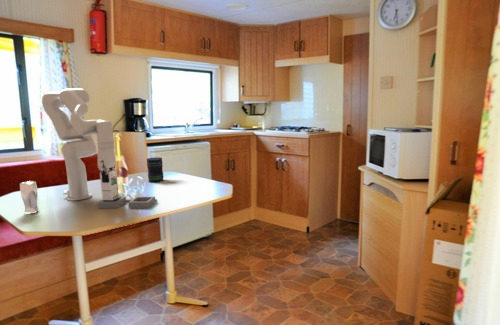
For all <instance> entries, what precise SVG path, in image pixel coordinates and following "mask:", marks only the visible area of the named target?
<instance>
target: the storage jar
mask: <svg viewBox="0 0 500 325" xmlns="http://www.w3.org/2000/svg"><path fill="white" fill-rule="evenodd" d="M146 165H147V166H146V167H147V178H148V183H151V184H154V183H155V184H156V183H161V182H164V171H163V158H162V157H148V158H146Z"/></svg>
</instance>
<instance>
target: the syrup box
mask: <svg viewBox="0 0 500 325" xmlns="http://www.w3.org/2000/svg"><path fill="white" fill-rule="evenodd" d="M104 171H105V172H106V170H104ZM107 175H108V176H109V182H108V183H103V182H102V175H101V172H100V171H99V179H100V180H99V181H100V186H101V187H100V188H101V195H102V199H103V200H114V199H116V198H118V197H120V196H119V189H118V187H119V186H118V179H117V178H118V176H117V170H116V169H115V170H109V169H108V174H107Z"/></svg>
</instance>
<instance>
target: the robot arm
mask: <svg viewBox="0 0 500 325" xmlns="http://www.w3.org/2000/svg"><path fill="white" fill-rule="evenodd" d="M89 102H90V95H89V93H88V92H87V90H86V89H83V88H65V89H62V90H61V91H49V92H46V93H44V94H43V95H42V99H41V103H42V104H41V105H42V108H43V110H44V112H45V113H46V115H47V116H48V117H49V119H50V120H51V122H52V125H53V127H54V129H55V132H56V134H57V136H58V138H59V139H60V141H63V142H65V143H63V145H62V146H61V153H62V157H63V159H64V163H65V170H66V176H67V186H68V190H67V189H65V190H63V193H62V194H63V195H67V196H66V201H81V200H86V199H89V198H91V197H92V195H93V194H92V193H91V192H89V187H88V185H89V184H88V179H87V178H88V177H87V170H86V165H85V163H84V162H83V161H82V159H81V158H88V157H92V156H94V155H95V154H96V153H97V168H98V171H99V173H100V172H101V175H102V182H103V183H108V182H109V176H108V175H107V174H108V170H116V166H117V165H116V164H117V163H116V162H117V161H116V154H115V141H114V129H113V128H114V127H113V122H112V121H111V120H105V119H99V118H98V119H87V120H86V119H85V120H83V119H82V117H84V116H85V115H86V114H87V113H88V111H89V105H88V104H89ZM60 108H67V109H68V111H69V112H70V113H71V115H70V117H69V115H67V113H65V111H63V110H62V109H60ZM94 135H96V141H97V145H96V142H95V141H94V138H93V136H94ZM105 171H106V172H105Z"/></svg>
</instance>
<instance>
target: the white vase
mask: <svg viewBox="0 0 500 325" xmlns="http://www.w3.org/2000/svg"><path fill="white" fill-rule="evenodd" d="M19 191H20V192H19V193H20V197H21V199H22V202H23V205H24V213H25V212H35V211H38V210H39V211H40V209H39V206H38V197H39V195H38V186H37V182H36V180H35V181H34V180H29V181H28V180H27V181H23V182H20V183H19Z"/></svg>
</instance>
